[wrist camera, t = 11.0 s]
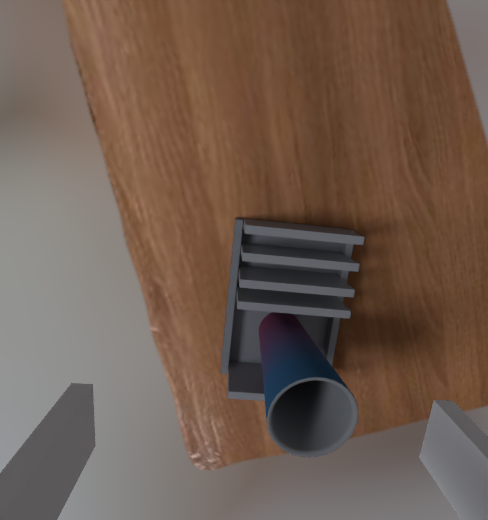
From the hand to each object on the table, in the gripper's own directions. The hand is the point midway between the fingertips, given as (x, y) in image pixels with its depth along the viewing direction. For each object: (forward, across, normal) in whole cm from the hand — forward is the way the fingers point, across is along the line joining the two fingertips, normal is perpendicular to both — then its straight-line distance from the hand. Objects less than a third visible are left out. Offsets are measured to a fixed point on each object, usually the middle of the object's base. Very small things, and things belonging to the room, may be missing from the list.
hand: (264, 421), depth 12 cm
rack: (+26, +5, -4) cm, 27 cm away
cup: (+24, +5, -8) cm, 26 cm away
